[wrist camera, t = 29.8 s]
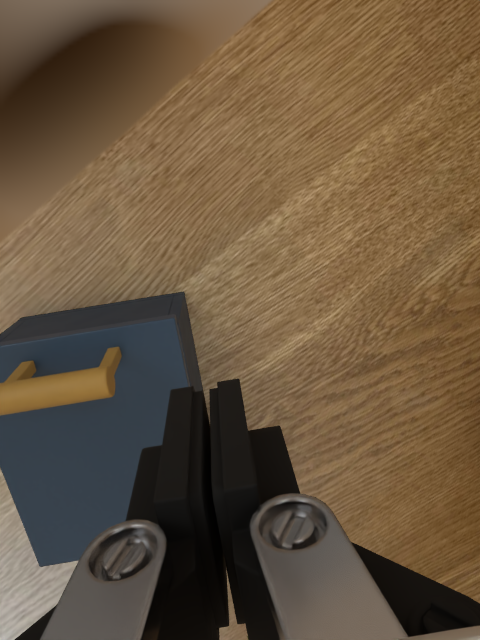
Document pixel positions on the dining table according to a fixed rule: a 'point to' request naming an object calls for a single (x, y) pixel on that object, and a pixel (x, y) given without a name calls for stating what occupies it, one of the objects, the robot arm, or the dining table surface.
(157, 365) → the lid
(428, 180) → the dining table surface
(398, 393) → the dining table surface
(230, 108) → the dining table surface
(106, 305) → the file box
